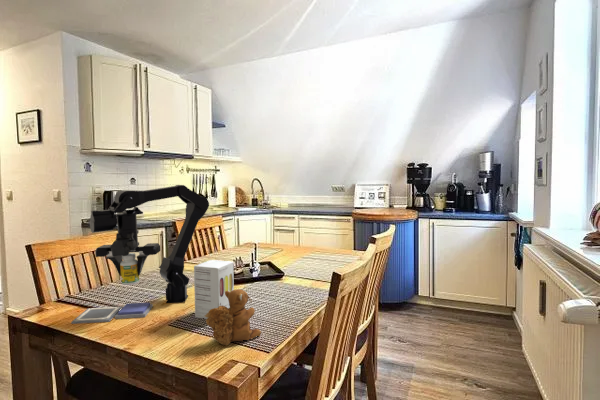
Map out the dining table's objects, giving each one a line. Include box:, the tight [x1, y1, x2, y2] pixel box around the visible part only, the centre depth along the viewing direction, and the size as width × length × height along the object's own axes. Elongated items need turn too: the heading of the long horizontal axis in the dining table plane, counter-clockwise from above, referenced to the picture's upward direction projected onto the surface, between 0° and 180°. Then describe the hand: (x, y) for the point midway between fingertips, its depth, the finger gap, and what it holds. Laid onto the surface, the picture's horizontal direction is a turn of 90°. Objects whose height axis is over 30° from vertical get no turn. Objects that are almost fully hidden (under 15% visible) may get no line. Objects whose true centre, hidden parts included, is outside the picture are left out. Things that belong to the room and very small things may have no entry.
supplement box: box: [193, 259, 235, 320], centre depth 115 cm, size 10×9×17 cm
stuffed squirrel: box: [204, 288, 262, 346], centre depth 98 cm, size 10×14×13 cm
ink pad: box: [114, 302, 154, 320], centre depth 117 cm, size 9×9×2 cm
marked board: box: [70, 306, 123, 325], centre depth 114 cm, size 11×11×1 cm
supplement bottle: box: [120, 252, 140, 286], centre depth 117 cm, size 5×5×10 cm
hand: (130, 275), depth 117 cm, fingers closed on supplement bottle, 5 cm apart
